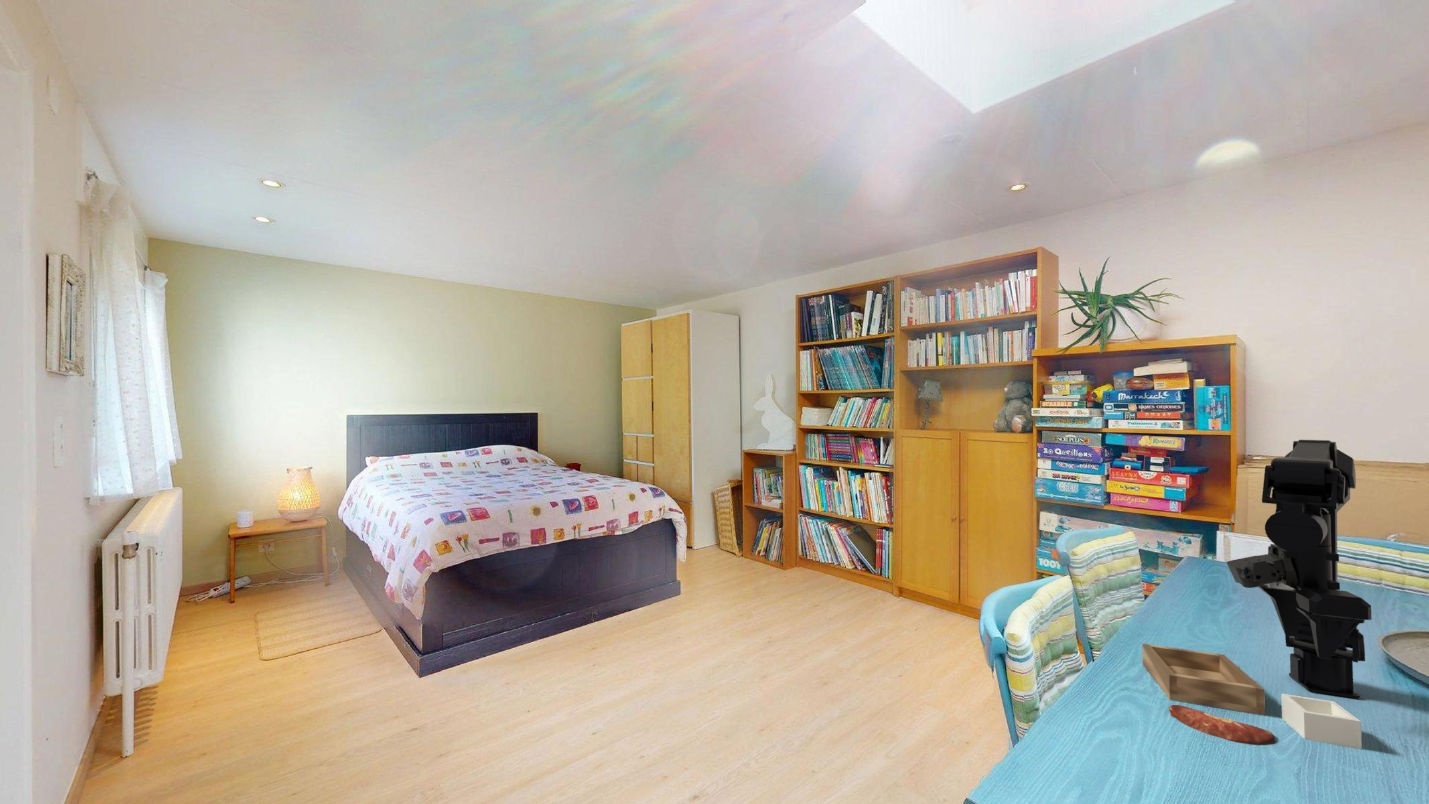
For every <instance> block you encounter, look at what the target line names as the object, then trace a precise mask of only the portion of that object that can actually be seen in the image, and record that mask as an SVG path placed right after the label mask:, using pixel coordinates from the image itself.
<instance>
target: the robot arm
mask: <svg viewBox="0 0 1429 804" xmlns="http://www.w3.org/2000/svg"><path fill="white" fill-rule="evenodd" d="M1354 460H1355V459H1354V458H1353V457H1352V456H1350V455H1348V454H1346V453H1345V452H1343V451H1341V450H1340V449H1338V446H1337V442H1336V441H1332V440H1330V439H1329V440H1327V439H1299V440H1293V442H1292V450H1291V451H1289V452H1288V453H1287V454H1285V456H1283V457H1274V458H1273V459H1271V461H1270V465H1269V464H1266V465H1265V467H1264V475H1263V485H1262V495H1261V503H1262V504H1271V505H1275V508H1276V509H1275V512H1274V513H1273V514H1271V515H1270V516H1269V517H1268V518H1267V519H1266V522H1265V523H1264V531H1265V534H1266V536H1267V538H1268V539H1269V541H1270V542H1271V543H1270V545H1269V546H1268V547H1267V554H1260V555H1253V556H1252V555H1251V556H1247V557H1241V558H1236V559H1232V560H1231V559H1230V560H1228V561H1226V564H1227V568H1228V569H1229V571H1230V573H1231V575H1232V577H1233V579H1234V582H1235V583H1237V584H1240V585H1241V586H1242V587H1243V588H1247V589H1252V588H1258V589H1259V590H1260V591H1262V592H1263V593H1265V594H1266V595H1267V596H1268V597H1269V598H1270V600H1271V602H1272V604H1273V606H1274V609H1275V611H1276V615H1277V617H1278V620H1279V622H1280V626H1281V627H1282V630H1283V633H1284V636H1285V639H1284V640H1285V647H1287V648H1293V653H1290V654H1289V665H1290V669H1289V670H1290V672H1289V673H1288V676H1289V677H1290V678H1292V680H1294V681H1295V682H1296V683H1298V684H1299V685H1300V686H1301V687H1303V688H1304V689H1306V690H1307V691H1309V692H1312V693H1320V694H1321V693H1322V694H1326V695H1333V696H1340V697H1345V698H1346V697H1348V698H1353V699H1361V694H1359V693H1357V692H1356V691H1354V668H1353V667H1354V666H1353V665H1354V663H1357V664H1358V663H1359V662H1366V650H1365V649H1366V648H1365V637H1364V635H1363V633H1361V632H1360V629H1358V626H1359V625H1360V624H1365V621H1371V620H1372V619H1373V618H1372V605H1371V604H1370V603H1369V602H1367V601H1366V600H1364V598H1362V597H1360V596H1358V595H1356V594H1354V593H1351V592H1349V591H1347V590H1341V583H1340V582H1338V581H1339V580H1338V579H1339V578H1338V574H1339V573H1338V562H1340V554H1338V512H1339V511H1340V510H1341V509H1342V508H1343V507H1344V506H1345V505H1346V504H1347V503H1348V502H1349V501H1350V500H1351V490H1353V489H1354V490H1355V489H1356V488H1357V487H1356V484H1357V483H1356V482H1357V478H1356V476H1357V475H1356V474H1357V473H1356V467H1355V461H1354ZM1353 662H1354V663H1353Z"/></svg>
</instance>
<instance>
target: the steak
mask: <svg viewBox="0 0 1429 804" xmlns="http://www.w3.org/2000/svg"><path fill="white" fill-rule="evenodd" d="M1168 711H1169V713H1170V716H1171V717H1172V718H1175V719H1176V720H1177V721H1179V722H1180V723H1182V724H1184V725H1186V726H1187V727H1189V728H1191V729H1193V730H1196V731H1198V732H1201V733H1204V734H1206V735H1209V736H1212V737H1216V738H1220V739H1222V740H1226V741H1229V742H1233V743H1239V744H1246V745H1255V746H1260V745H1272V744H1275V742H1276V736H1275V735H1274V733H1273V732H1271V731H1269V730H1266V729H1263V728H1262V727H1258V726H1255V725H1253V724H1252V725H1251V724H1247V723H1244V722H1238V721H1235V720H1233V719H1232V718H1225V717H1219V716H1216V715H1213V714H1210V713H1207V712H1204V711H1202V710H1198V709H1195V708H1192V707H1187V706H1184V705H1181V704H1171V705H1169V707H1168Z"/></svg>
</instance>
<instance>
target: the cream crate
mask: <svg viewBox="0 0 1429 804" xmlns="http://www.w3.org/2000/svg"><path fill="white" fill-rule="evenodd" d="M1281 719H1282V720H1283V721H1284V722H1285V721H1286V722H1285V723H1286V724H1287V725H1288V726H1290V727H1291V728H1292V729H1293V730H1294V731H1295V732H1296V733H1297V734H1298V735H1300V737H1302V738H1303V739H1304V740H1309V741H1314V742H1320V743H1321V742H1322V743H1326V744H1331V745H1337V746H1338V745H1339V746H1342V747H1343V746H1344V747H1347V748H1348V747H1349V748H1354V749H1360V750H1362V749H1363V747H1362V744H1363V743H1362V721H1361V720H1360V719H1358V718H1357V717H1355V716H1354V715H1353V714H1352V713H1350V712H1349V711H1347V710H1346V709H1345V708H1343V707H1342V706H1341V705H1339V704H1338V703H1337V702H1335V701H1334V700H1327V699H1321V698H1315V697H1313V698H1312V697H1307V696H1299V695H1295V694H1294V695H1293V694H1287V693H1281Z"/></svg>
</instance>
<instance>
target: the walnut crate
mask: <svg viewBox="0 0 1429 804" xmlns="http://www.w3.org/2000/svg"><path fill="white" fill-rule="evenodd" d="M1142 665H1143V667H1144V669H1146V671H1147V673H1149V675H1150V676H1151V678H1152V679H1153V678H1154V679H1153V680H1154V681H1155V682H1156V684H1157V683H1158V684H1157V685H1158V686H1159V688H1160V687H1161V688H1160V689H1161V690H1162V692H1163V691H1164V692H1165V693H1166V694H1165V693H1164V692H1163V693H1164V694H1165V695H1166V697H1167V698H1168V699H1169V700H1171V701H1174V702H1175V701H1176V702H1183V703H1188V704H1195V705H1200V706H1207V707H1212V708H1213V707H1214V708H1218V709H1225V710H1231V711H1237V712H1243V713H1247V714H1255V715H1262V716H1266V705H1265V703H1266V702H1265V700H1266V698H1265V696H1266V694H1265V689H1264V688H1263V687H1262V686H1261V685H1260V684H1259V682H1257V681H1256V680H1254V679H1253V678H1252V677H1251V676H1249V674H1247V673H1246V672H1245V671H1244V670H1242V669H1241V668H1240V667H1239V666H1238V665H1237V664H1236V663H1234V662H1233V661H1232V660H1231V659H1230V658H1229V657H1228V656H1226V655H1225V654H1222V653H1215V652H1207V651H1206V652H1205V651H1200V650H1193V649H1186V648H1185V649H1183V648H1179V647H1178V648H1177V647H1169V646H1163V645H1156V644H1149V643H1148V644H1147V643H1142Z"/></svg>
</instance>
